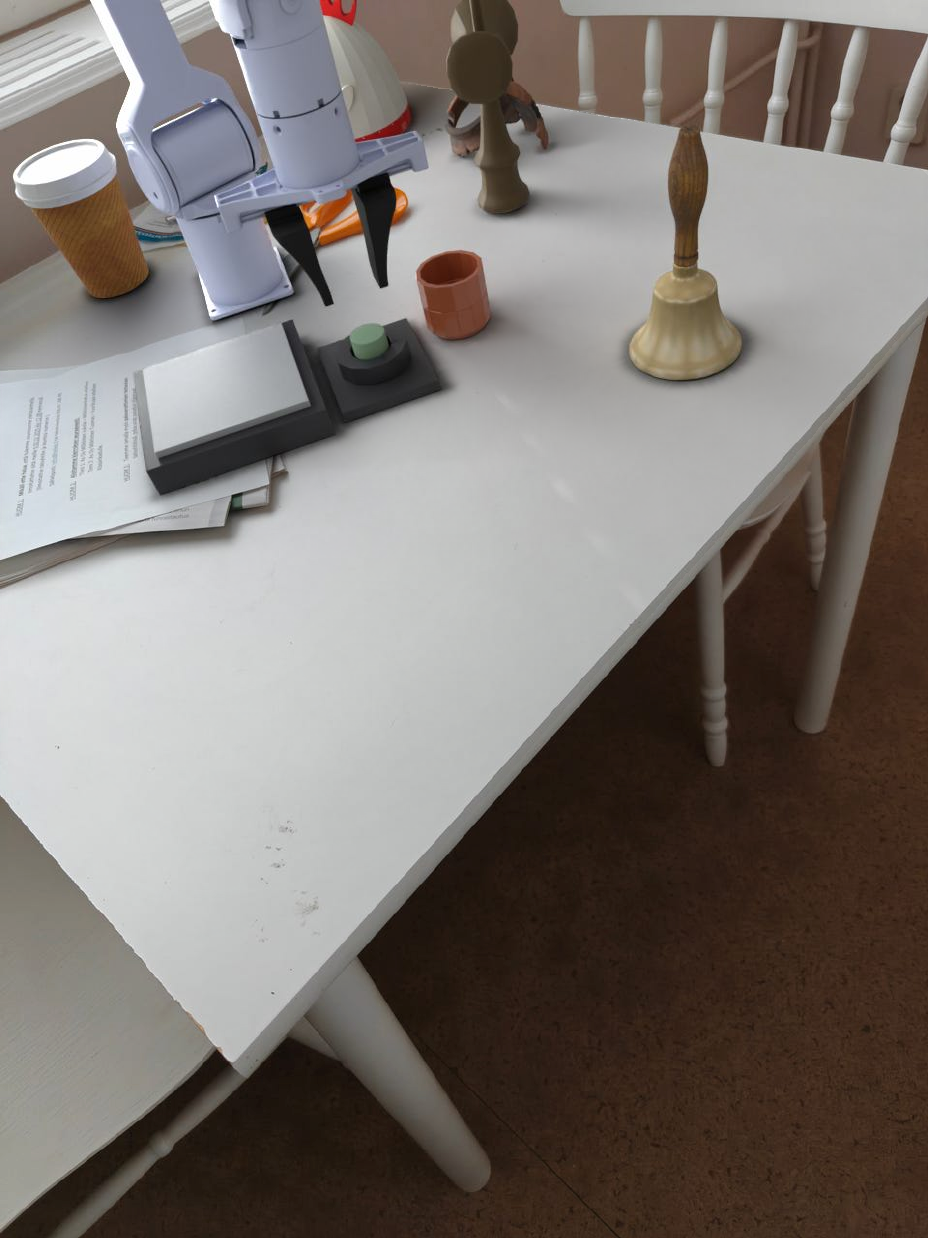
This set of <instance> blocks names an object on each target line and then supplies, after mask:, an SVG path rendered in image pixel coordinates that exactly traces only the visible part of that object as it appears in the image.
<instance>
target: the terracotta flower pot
mask: <svg viewBox="0 0 928 1238" xmlns="http://www.w3.org/2000/svg"><path fill="white" fill-rule="evenodd" d="M414 273H415V280H416V284H417V290H418V293H419V297H420V303H421V306H422V310H423V315H424V319H425V323H426V327H427V329H428V330H429V331H430V332H432V333H433V334H434V335H436V336H437V337H438V338H441V339H445V340H455V341H456V340H462V339H466V338H469V337H472V336H475V335H477V333H479V332H480V331H482V330H483V329H484V328H485V326H486V325H487V324H488V321H489V320H490V318H491V316H492V310H491V304H490V299H489V294H488V288H487V282H486V276H485V270H484V264H483V259H482V257H481V256H479V255H478V254H476V253H475V252H474V251H469V250H463V249H457V250H446V251H443V252H440V253H438V254H434V255H432V256H430V257H429V258H427V259H425V260H424V261H422V262H421V263H420V264H419V265H418V267H417V269H416V270H415V272H414Z"/></svg>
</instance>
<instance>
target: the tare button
mask: <svg viewBox="0 0 928 1238" xmlns="http://www.w3.org/2000/svg"><path fill="white" fill-rule="evenodd" d="M382 326H383V325H381V324H379V323H370V322H369V323H365V324H362V325H359V326H357V327H355V328H354V329H353V330H352V331H351V333H350V334H349V335H350V341H351V344H352V348H353V351H354V354H355V356H356V357H357V358H358V359H373V358H376V357H379V356H381V355H382V354H384V353H385V352H386V351H388V348H389V344H388V341H387V337H386V334H385V330H384V328H383V327H382Z"/></svg>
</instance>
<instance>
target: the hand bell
mask: <svg viewBox="0 0 928 1238" xmlns="http://www.w3.org/2000/svg"><path fill="white" fill-rule="evenodd" d="M708 162H709V161H708V158H707V154H706V150H705V146H704V144H703V140H702V134H701V128H700V126H699V125H696V124H686V125H683V126H681V127H680V128H679V129H678V135H677V139H676V143H675V145H674V148H673V151H672V154H671V158H670V161H669V166H668V171H667V172H668V173H667V195H668V202H669V206H670V210H671V214H672V217H673V220H674V230H675V231H674V247H673V263H672V270H670V271H668V272H665V273H664V274H662V275H661V276H660V277H659V278H658V279H657V280H656V281H655V283H654V286H653V291H652V300H651V305H650V309H649V310H650V311H649V314H648V318H647V320H646V322H645V323H644V324H643V325H642V326H640V328H639V329H638V330H636V332H635V333H634V335H633V337H632V339H631V341H630V343H629V346H628V347H629V348H628V354H629V357H630V360H631V362H632V363H633V365H634V366H635V367H636V368H638V369H639V370H640V371H642V372H643V373H646V374H647V375H651V376H652V377H656V378H658V379H663V380H664V379H665V380H669V381H670V380H671V381H684V380H685V381H687V380H697V379H703V378H705V377H709V376H712V375H715V374H717V373H719V372H721V371H723V370H725V369H726V368H727V367H729V366H731V364H733V363H734V362H735V361H736V360H737V359H738V357H739V356H740V354H741V351H742V349H743V338H742V336H741V334H740V332H739V330H738V329H737V327H736V326H735V325H734V324H733V323H732V322H731V321H730V320H728V319H727V318H726V317H725V316H724V313H723V311H722V308H721V307H722V306H721V303H720V298H719V297H720V296H719V289H718V282H717V279H716V277H715V276H714V275H713V274H712V273H711V272H710V271H708V270H705V269H703V268H699V267H698V265H699V264H698V262H699V261H698V260H699V225H700V220H701V215H702V213H703V210H704V207H705V203H706V199H707V194H708V187H709V163H708Z"/></svg>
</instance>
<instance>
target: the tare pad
mask: <svg viewBox="0 0 928 1238" xmlns="http://www.w3.org/2000/svg"><path fill="white" fill-rule="evenodd" d="M381 326H382V327H383V328H384V330H385V334H386V337H387V341H388V344H389V348H388V351H386V352H385V353H384V354H382V355H381V356H379V357H376V358H373V359H358V358H357V357H356V356H355V354H354V351H353V348H352V344H351V341H350V334H349V335H347V336H346V337H345V338H342V339H339V340H337V341H334V342H330V343H327V344H325V345H322V346H319V347H316V352H317V354H318V357H319V360H320V362H321V365H322V367H323V370H324V373H325V376H326V378H327V381H328V383H329V386H330V389H331V391H332V393H333V397H334V399H335V401H336V404H337V406H338V409H339V411H340V414H341V417H342V419H343V422H344V423H348V422H351V421H354V420H357V419H360V418H363V417H366V416H368V415H371V414H374V413H378V412H380V411H383V410H386V409H389V408H391V407H395V406H397V405H400V404H404V403H406V402H409V401H412V400H415V399H418V398H421V397H424V396H427V395H430V394H433V393H435V392H438V391H441V390H442V388H443V387H442V383H441V380H440V378H439V376H438V374H437V372H436V370H435V368H434V367H433V365H432V363H431V361H430V358H429V357H428V355H427V354H426V351H425V350H424V348H423V346H422V344H421V342H420V341H419V339H418V336H417V335H416V332H415V331H414V330H413V327H412V326H411V324H410V322H409V320H408V318H406V317H405V318H402V319H399V320H396V321H392V322H390V323H386V324H384V325H381Z"/></svg>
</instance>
